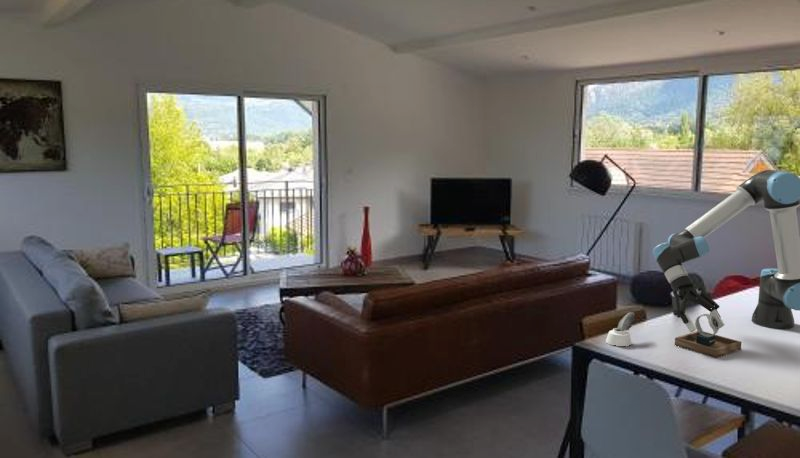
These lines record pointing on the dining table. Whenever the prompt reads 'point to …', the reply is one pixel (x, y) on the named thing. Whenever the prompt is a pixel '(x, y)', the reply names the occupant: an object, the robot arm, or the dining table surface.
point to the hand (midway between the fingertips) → (707, 328)
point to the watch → (704, 337)
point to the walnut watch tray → (715, 350)
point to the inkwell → (621, 332)
